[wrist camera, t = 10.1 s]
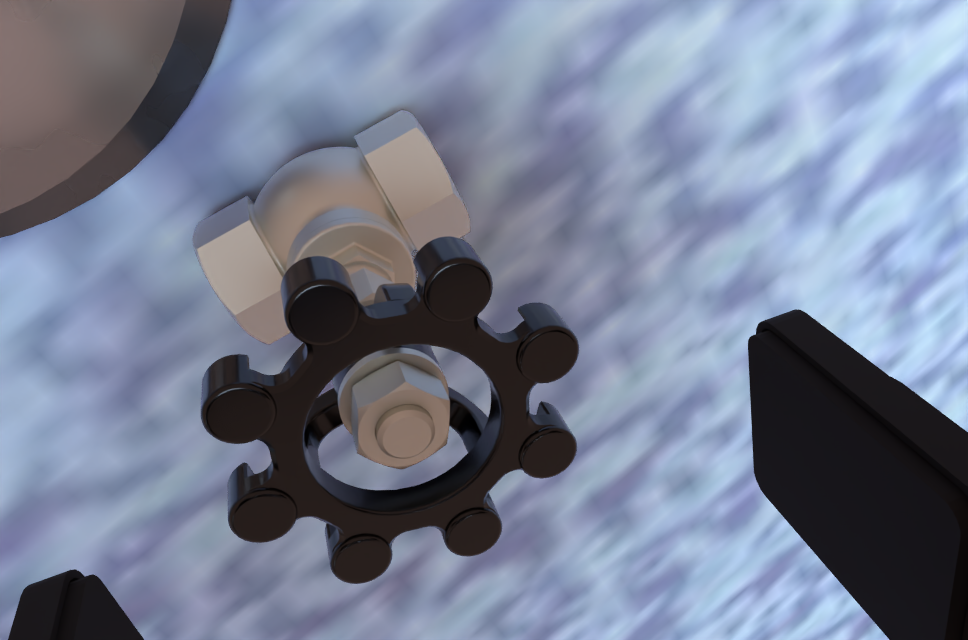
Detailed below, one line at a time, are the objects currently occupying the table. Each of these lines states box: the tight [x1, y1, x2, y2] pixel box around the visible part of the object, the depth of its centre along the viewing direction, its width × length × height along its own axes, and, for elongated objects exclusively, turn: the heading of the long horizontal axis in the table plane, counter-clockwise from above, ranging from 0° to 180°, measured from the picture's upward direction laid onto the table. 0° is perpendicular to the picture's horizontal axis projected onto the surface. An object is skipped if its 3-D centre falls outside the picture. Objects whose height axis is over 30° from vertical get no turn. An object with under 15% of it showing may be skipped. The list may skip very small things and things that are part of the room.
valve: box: [193, 110, 579, 584], centre depth 18 cm, size 7×7×12 cm
